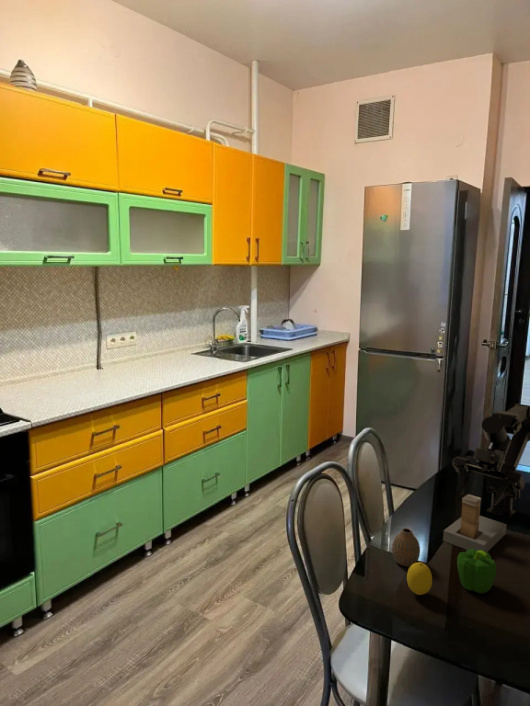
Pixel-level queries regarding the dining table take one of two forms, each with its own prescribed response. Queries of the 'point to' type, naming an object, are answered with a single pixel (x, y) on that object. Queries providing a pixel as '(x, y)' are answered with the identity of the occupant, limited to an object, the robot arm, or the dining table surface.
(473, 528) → the wooden square peg
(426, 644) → the dining table surface
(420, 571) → the lemon
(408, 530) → the vase
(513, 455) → the robot arm
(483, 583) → the bell pepper
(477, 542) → the block with square hole
